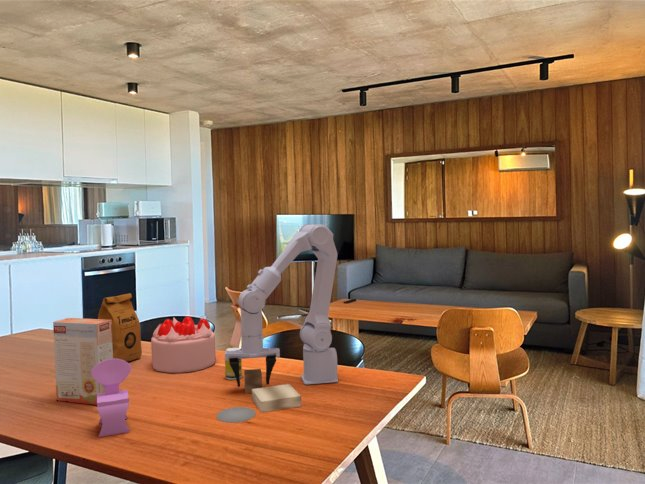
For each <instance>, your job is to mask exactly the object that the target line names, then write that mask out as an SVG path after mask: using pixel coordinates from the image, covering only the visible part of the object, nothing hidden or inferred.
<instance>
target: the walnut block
mask: <svg viewBox="0 0 645 484" xmlns="http://www.w3.org/2000/svg"><path fill="white" fill-rule="evenodd" d="M243 371H244V372H243V373H244V392H245V394H252V389H256V388H263V375H262V374H263V373H262V370H261V368H255V369H254V368H252V369H244V370H243Z"/></svg>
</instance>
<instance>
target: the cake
mask: <svg viewBox="0 0 645 484" xmlns="http://www.w3.org/2000/svg"><path fill="white" fill-rule="evenodd" d="M150 340H151V341H150V344H151V349H150V350H151V367H152V368H153V370H155V371H157V372H160V373H168V374H181V373H192V372H196V371H200V370H204V369H207V368H210V367H211V366H212V367H213V365H215V363H216V359H217V356H216V353H217V352H216V334H215V332H213V330H212V328H211V325H210V323H209V321H208V320H207V319H205V318H203V317H202V316H201V317H200V320H199V322H198V324H195V322H194V320H193V318H192V317H191V316H189V315H188V316H185V317H184V318H183V320H182V322H181V321H178V320H177V319H176V318H175V317H173V318H172V320H171V319H170V318H166V319H165V320H164V322H163V323H159V324H158V325H157V327H156V328H155V329H154V331H153V333H152V337H151V338H150Z"/></svg>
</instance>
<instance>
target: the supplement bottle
mask: <svg viewBox="0 0 645 484" xmlns="http://www.w3.org/2000/svg"><path fill="white" fill-rule="evenodd" d="M235 350H241V348H239V347H229V348H228V347H227V348H226V349H225V352H228V351H235ZM242 368H243V367H242V359H239V377H240V379H241V378H242V377H243V376H242V375H243V369H242ZM224 369H225V370H224V371H225V372H224V375H225V376H224V377H225V379H226V380H230V381H235V380H236V377H235V374H234V372H233V370H232V368H231V366H230V364H229V360H228V361H225V360H224ZM236 381H237V380H236Z"/></svg>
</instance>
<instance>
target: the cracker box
mask: <svg viewBox="0 0 645 484" xmlns="http://www.w3.org/2000/svg"><path fill="white" fill-rule="evenodd" d="M52 323H53V324H52V325H53V327H52V328H53V341H54V342H53V345H54V347H53V349H54V350H53V351H54V369H55V370H54V371H55V395H56V398H55V399H56V401H57V400H58V401H59V402H66V401H68V403H75V402H76V403H77V404H84V405H94V406H97V394H99V393H105V386H104V385H102V384H99V383H98V382H97V381H96V380H95V379H94V378H93V377H92V374H91V371H92V369H93V368H94V367H95V366H96V365H97V364H98V363H100V362H102V361H104V360H107V359H113V347H112V322H111V320H103V319H98V318H81V317H80V318H79V317H78V318H77V317H76V318H75V317H66V318H63V319H58V320H55V321H53V322H52Z"/></svg>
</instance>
